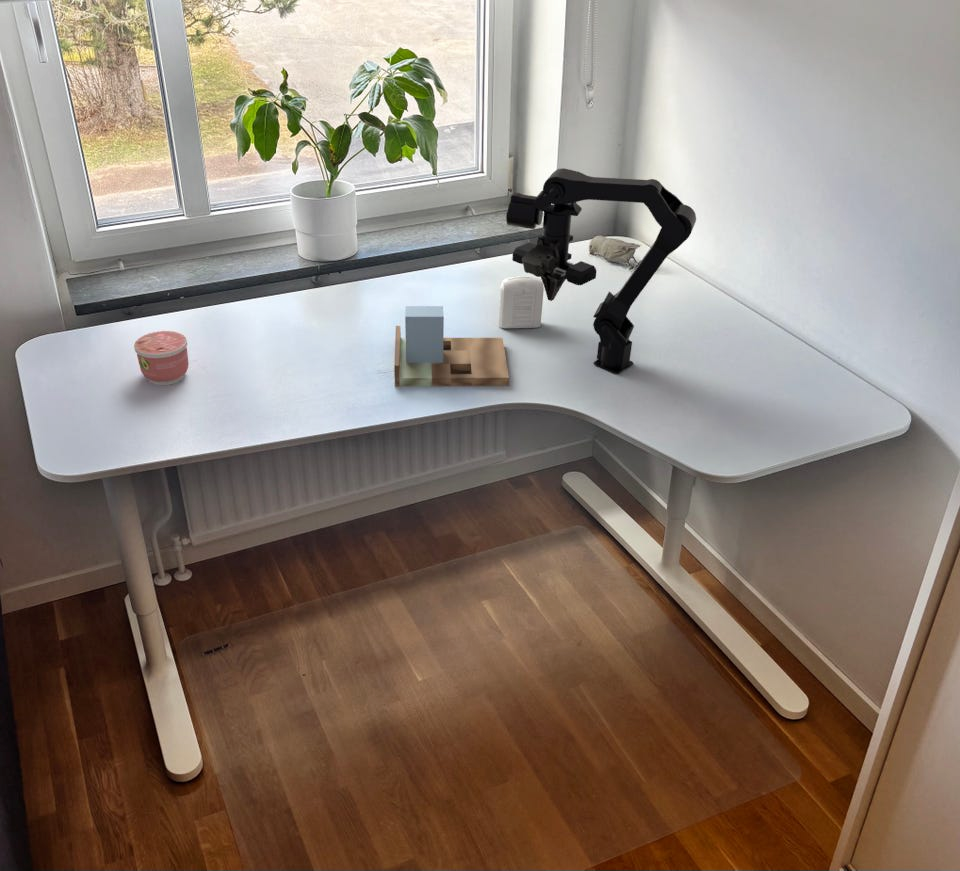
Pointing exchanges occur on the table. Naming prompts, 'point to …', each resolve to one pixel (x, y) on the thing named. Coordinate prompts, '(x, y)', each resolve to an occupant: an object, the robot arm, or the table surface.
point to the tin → (424, 334)
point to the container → (162, 356)
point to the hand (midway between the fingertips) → (550, 299)
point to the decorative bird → (613, 249)
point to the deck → (455, 364)
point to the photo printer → (520, 302)
